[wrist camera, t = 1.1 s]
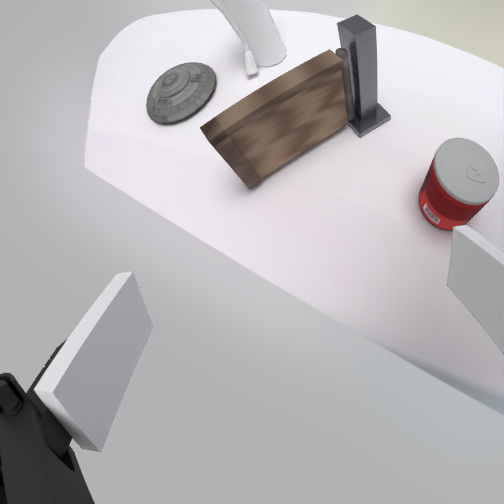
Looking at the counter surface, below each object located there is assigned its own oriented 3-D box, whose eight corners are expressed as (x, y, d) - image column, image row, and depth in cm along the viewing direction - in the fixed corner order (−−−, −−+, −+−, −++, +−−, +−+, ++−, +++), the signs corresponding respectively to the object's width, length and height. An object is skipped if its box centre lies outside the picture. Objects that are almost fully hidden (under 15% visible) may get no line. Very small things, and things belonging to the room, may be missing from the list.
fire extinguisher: (232, 76, 52) (168, -26, 29) (268, 37, 52) (222, -63, 29) (261, 85, 49) (201, -29, 26) (297, 44, 49) (257, -65, 26)
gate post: (365, 94, 43) (358, 5, 26) (390, 119, 41) (394, 28, 24) (335, 111, 44) (318, 22, 27) (360, 137, 42) (353, 47, 25)
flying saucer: (232, 70, 53) (221, 52, 48) (192, 133, 52) (177, 116, 47) (175, 66, 58) (163, 50, 53) (138, 121, 57) (122, 107, 52)
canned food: (469, 236, 35) (501, 209, 24) (416, 226, 37) (434, 195, 27) (469, 183, 36) (496, 145, 25) (418, 174, 38) (433, 131, 28)
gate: (348, 109, 42) (339, 44, 29) (358, 120, 41) (353, 54, 29) (241, 176, 45) (199, 127, 32) (249, 189, 44) (208, 141, 32)
